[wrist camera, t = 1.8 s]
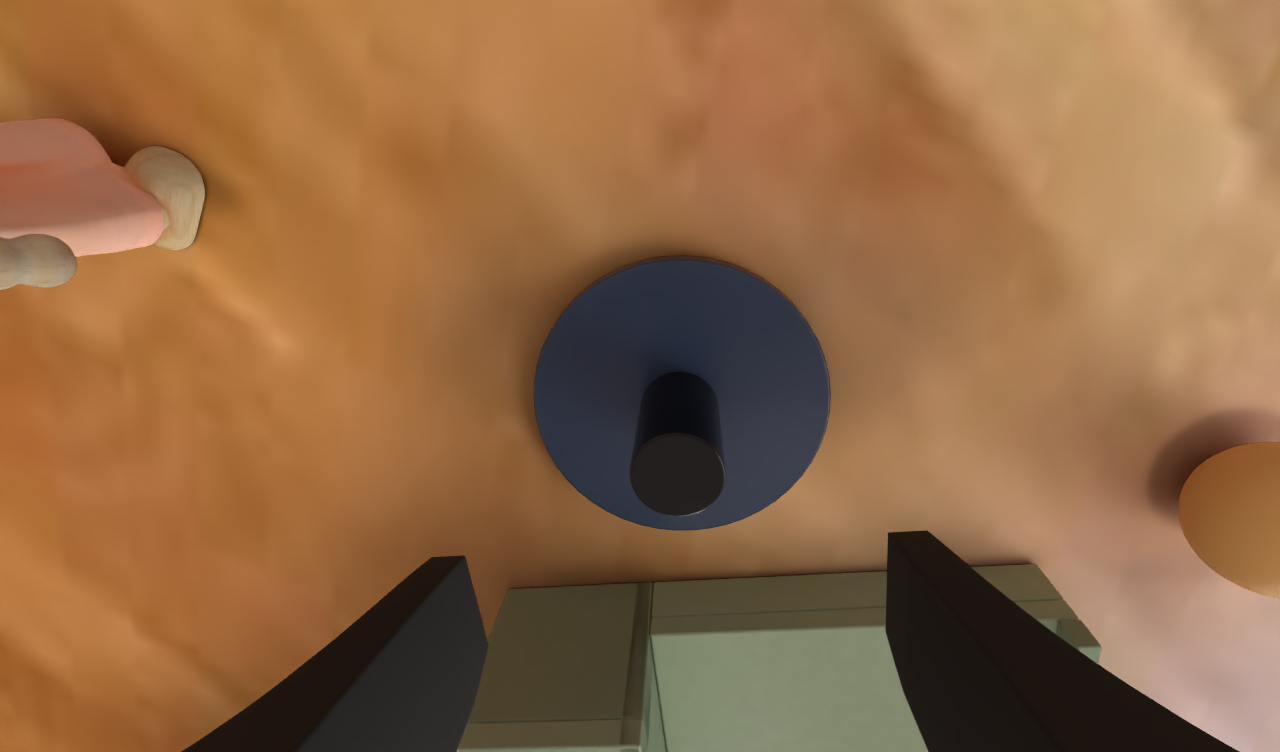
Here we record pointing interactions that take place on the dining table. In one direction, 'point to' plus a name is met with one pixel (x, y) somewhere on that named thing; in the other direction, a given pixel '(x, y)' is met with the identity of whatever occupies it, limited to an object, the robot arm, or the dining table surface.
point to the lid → (682, 393)
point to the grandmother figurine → (85, 201)
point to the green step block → (714, 665)
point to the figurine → (1237, 515)
